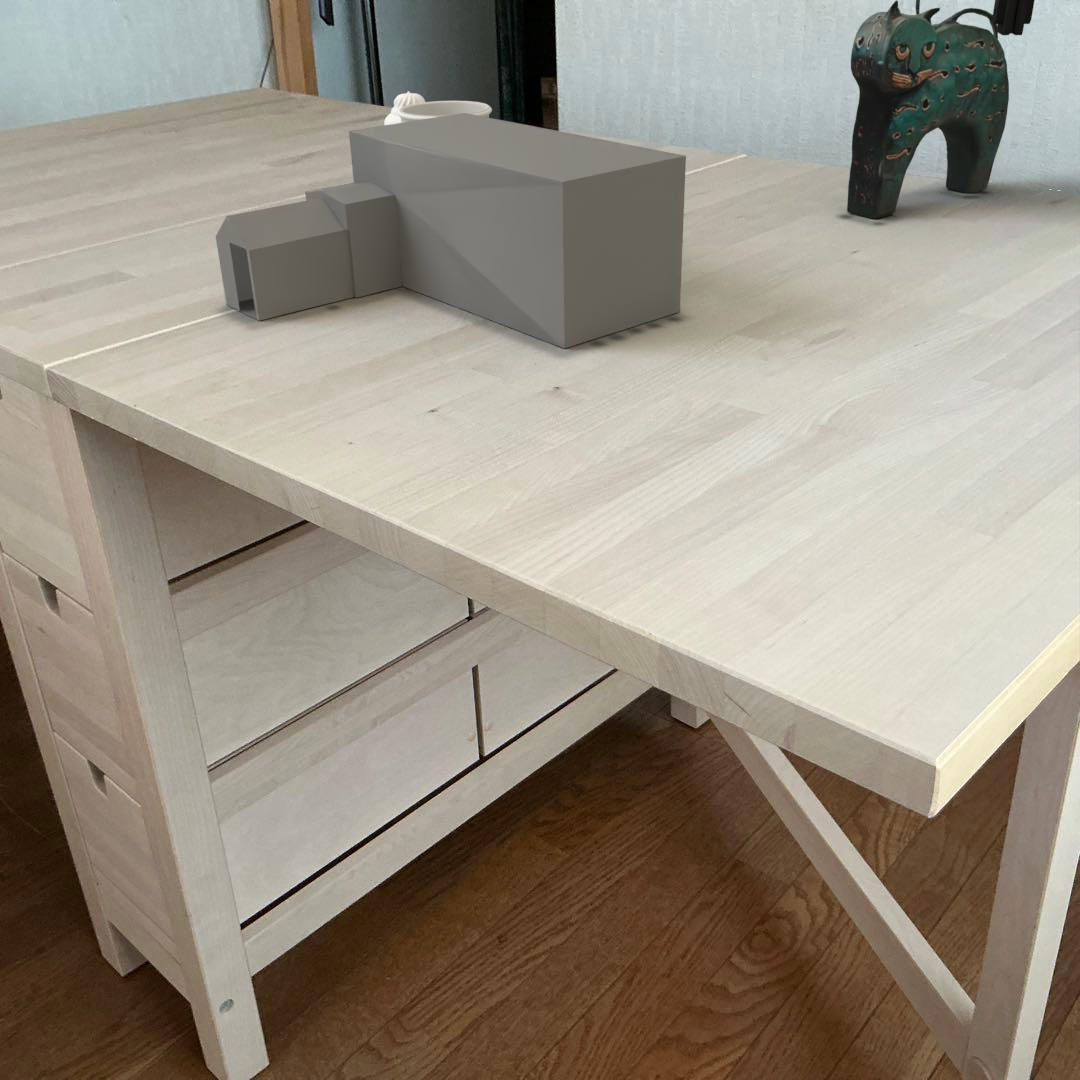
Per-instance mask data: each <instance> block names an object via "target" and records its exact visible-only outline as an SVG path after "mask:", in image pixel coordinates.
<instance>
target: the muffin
mask: <svg viewBox="0 0 1080 1080" xmlns="http://www.w3.org/2000/svg"><path fill="white" fill-rule="evenodd" d="M424 102H426V100H425V98H424V97H423V96H422V95H421V94H419V93H417V92H415V93H414V92H410V91H409V90H407V92H405V93H400V94H398V95H397V96H396V97H395V99H394V100H393V106H392V108H391V110H390V113H388V115H387V116H386V117H385V119H384V121H383V126H385V125H391V124H397V123H402V122H401V117H399V116H398V111H399V110H400V109H401V108H402V107H404V106H407V105H411V104H417V103H424Z"/></svg>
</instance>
